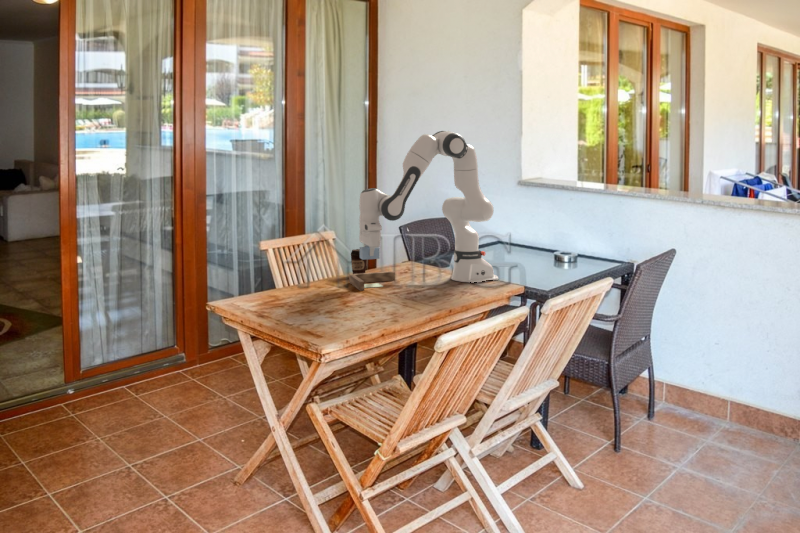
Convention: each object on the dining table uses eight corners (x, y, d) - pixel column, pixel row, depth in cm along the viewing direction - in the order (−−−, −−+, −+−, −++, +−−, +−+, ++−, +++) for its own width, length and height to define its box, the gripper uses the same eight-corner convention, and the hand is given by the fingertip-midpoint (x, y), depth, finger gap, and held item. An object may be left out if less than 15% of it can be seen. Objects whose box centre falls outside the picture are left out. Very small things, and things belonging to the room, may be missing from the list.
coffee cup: (365, 278, 362) (365, 251, 359) (348, 277, 364) (348, 250, 361) (369, 274, 370) (369, 248, 368) (353, 273, 372) (353, 247, 369)
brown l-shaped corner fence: (393, 279, 359) (393, 271, 358) (406, 287, 343) (406, 278, 342) (348, 282, 352) (348, 274, 351) (359, 290, 335) (359, 281, 335)
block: (359, 258, 343) (359, 247, 342) (376, 257, 346) (376, 246, 345) (362, 259, 339) (362, 248, 338) (379, 258, 342) (379, 247, 341)
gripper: (355, 222, 348) (356, 251, 351) (369, 227, 329) (369, 258, 332) (369, 221, 350) (369, 250, 353) (383, 227, 331) (383, 258, 334)
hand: (369, 254), depth 342 cm, fingers closed on block, 4 cm apart
